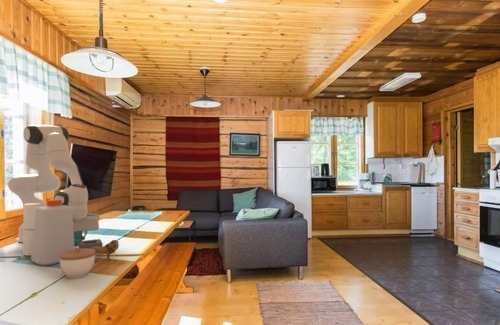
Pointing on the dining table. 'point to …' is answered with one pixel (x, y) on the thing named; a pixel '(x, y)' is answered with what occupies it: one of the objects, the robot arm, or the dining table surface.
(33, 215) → the cylindrical container
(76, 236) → the teal pin
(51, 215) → the plastic bottle
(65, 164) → the robot arm
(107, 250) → the lion figurine
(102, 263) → the dining table surface
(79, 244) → the bore block
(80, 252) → the lidded bowl
